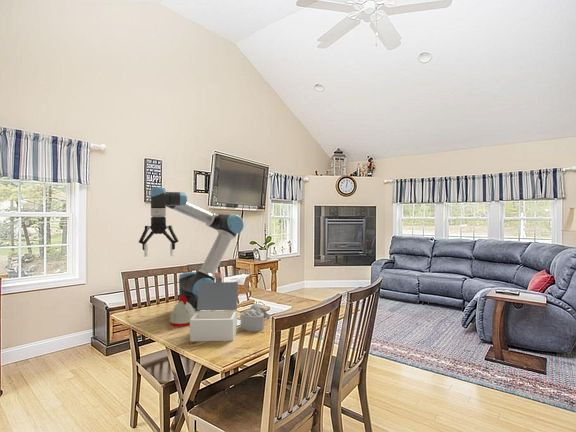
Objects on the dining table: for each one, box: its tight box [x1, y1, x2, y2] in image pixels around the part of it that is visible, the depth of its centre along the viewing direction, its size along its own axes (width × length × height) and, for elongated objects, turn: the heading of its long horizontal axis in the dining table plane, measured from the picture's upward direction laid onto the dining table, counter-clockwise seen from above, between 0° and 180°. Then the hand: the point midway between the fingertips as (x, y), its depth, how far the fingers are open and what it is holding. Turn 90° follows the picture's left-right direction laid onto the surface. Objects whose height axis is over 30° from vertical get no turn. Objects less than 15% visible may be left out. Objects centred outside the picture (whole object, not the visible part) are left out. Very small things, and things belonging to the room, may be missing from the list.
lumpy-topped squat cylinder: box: [240, 308, 265, 332], centre depth 180 cm, size 10×13×9 cm
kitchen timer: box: [169, 295, 196, 328], centre depth 189 cm, size 14×14×15 cm
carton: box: [189, 310, 238, 342], centre depth 168 cm, size 14×20×10 cm
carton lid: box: [197, 272, 239, 311], centre depth 177 cm, size 18×20×6 cm
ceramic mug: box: [249, 303, 271, 319], centre depth 195 cm, size 11×8×8 cm
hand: (159, 256), depth 186 cm, fingers open, 13 cm apart
